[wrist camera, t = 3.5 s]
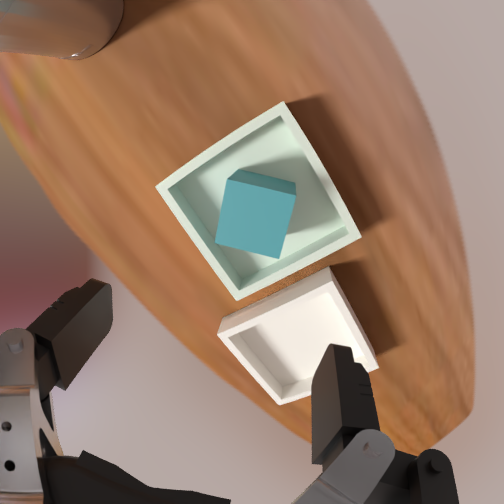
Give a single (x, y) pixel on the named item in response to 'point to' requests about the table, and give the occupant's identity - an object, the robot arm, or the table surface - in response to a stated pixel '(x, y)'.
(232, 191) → the teal cube
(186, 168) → the sage tray
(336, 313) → the cream tray
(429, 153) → the table surface
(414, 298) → the table surface
